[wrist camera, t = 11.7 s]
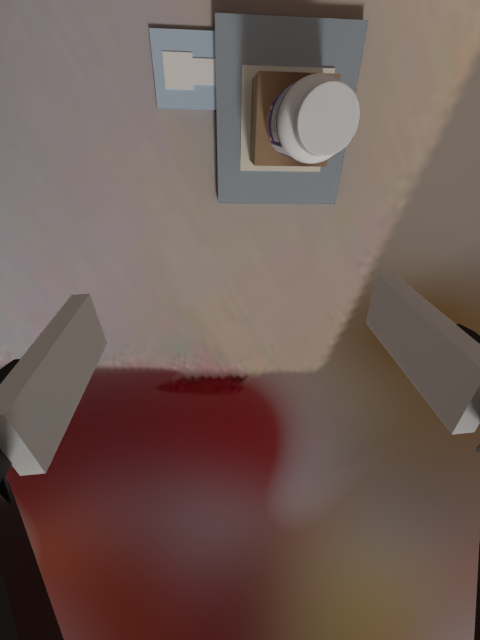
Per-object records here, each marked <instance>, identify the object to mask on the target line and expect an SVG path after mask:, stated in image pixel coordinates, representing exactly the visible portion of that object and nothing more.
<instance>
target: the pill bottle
mask: <svg viewBox="0 0 480 640" xmlns="http://www.w3.org/2000/svg"><path fill="white" fill-rule="evenodd" d="M359 119H360V106H359V102H358V99H357V96H356V94H355V92H354V91H353V90H352V89H351V88H350V87H349V86H348V85H347V84H345V83H343V82H342V81H341V80H340V79H338V78H337V77H335V76H333V75H331V74H327V73H315V74H311V75H308V76H306V77H304V78H302V79H300V80H298V81H297V82H295V83H293V84H292V85H290V86H288V87H286V88H285V89H283V90H282V91H281V92H280V93H279V94H278V95H277V96H276V97H275V98H274V100H273V101H272V103H271V105H270V107H269V109H268V112H267V117H266V132H267V136H268V139H269V141H270V143H271V145H272V146H273V148H274V149H275V150H276V151H278V152H279V153H280V154H282V155H284V156H286V157H289V158H291V159H294V160H296V161H299V162H302V163H307V164H315V163H319V162H323V161H325V160H327V159H329V158H330V157H332V156H333V155H335V154H336V153H338V152H339V151H341V150H342V149H343V148H345V147H346V146H347V145H348V144H349V142H350V141H351V140H352V138H353V136H354V135H355V133H356V130H357V127H358V124H359Z"/></svg>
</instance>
